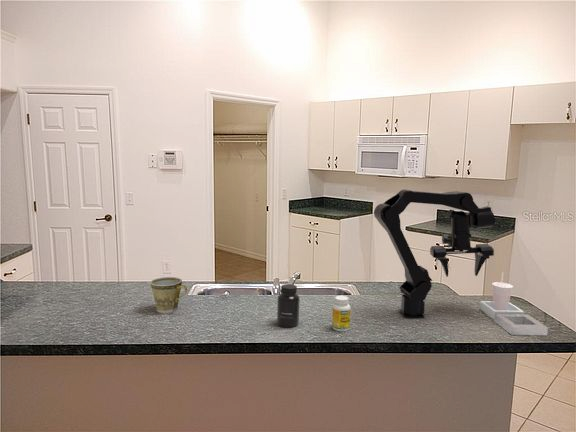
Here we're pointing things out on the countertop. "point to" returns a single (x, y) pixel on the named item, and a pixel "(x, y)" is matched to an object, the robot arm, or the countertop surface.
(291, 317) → the supplement bottle
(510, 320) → the bore block
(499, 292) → the smoothie
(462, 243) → the robot arm
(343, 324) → the supplement bottle
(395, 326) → the countertop surface
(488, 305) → the tray
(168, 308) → the ceramic cup
